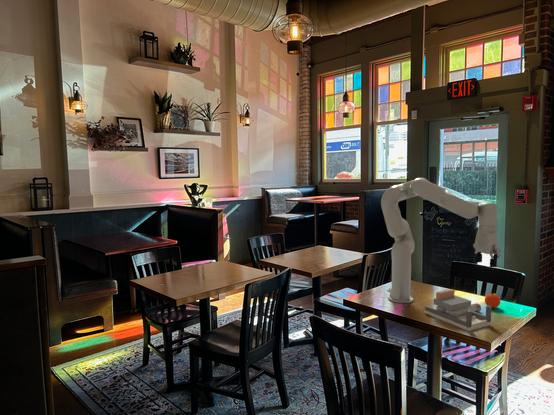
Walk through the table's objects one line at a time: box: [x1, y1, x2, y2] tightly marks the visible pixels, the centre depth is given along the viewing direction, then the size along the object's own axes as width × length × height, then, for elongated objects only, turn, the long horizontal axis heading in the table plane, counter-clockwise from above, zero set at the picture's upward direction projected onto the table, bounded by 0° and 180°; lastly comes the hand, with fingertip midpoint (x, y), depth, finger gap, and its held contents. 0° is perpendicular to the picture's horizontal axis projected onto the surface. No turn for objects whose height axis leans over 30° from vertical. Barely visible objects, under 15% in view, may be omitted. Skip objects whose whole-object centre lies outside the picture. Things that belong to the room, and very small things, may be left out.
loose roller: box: [467, 302, 482, 313], centre depth 196 cm, size 4×9×4 cm, turn 117°
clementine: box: [484, 293, 501, 309], centre depth 203 cm, size 8×7×7 cm
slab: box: [432, 288, 472, 311], centre depth 190 cm, size 10×13×6 cm
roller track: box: [424, 305, 493, 332], centre depth 188 cm, size 24×15×8 cm, turn 28°
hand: (485, 264), depth 194 cm, fingers open, 9 cm apart
